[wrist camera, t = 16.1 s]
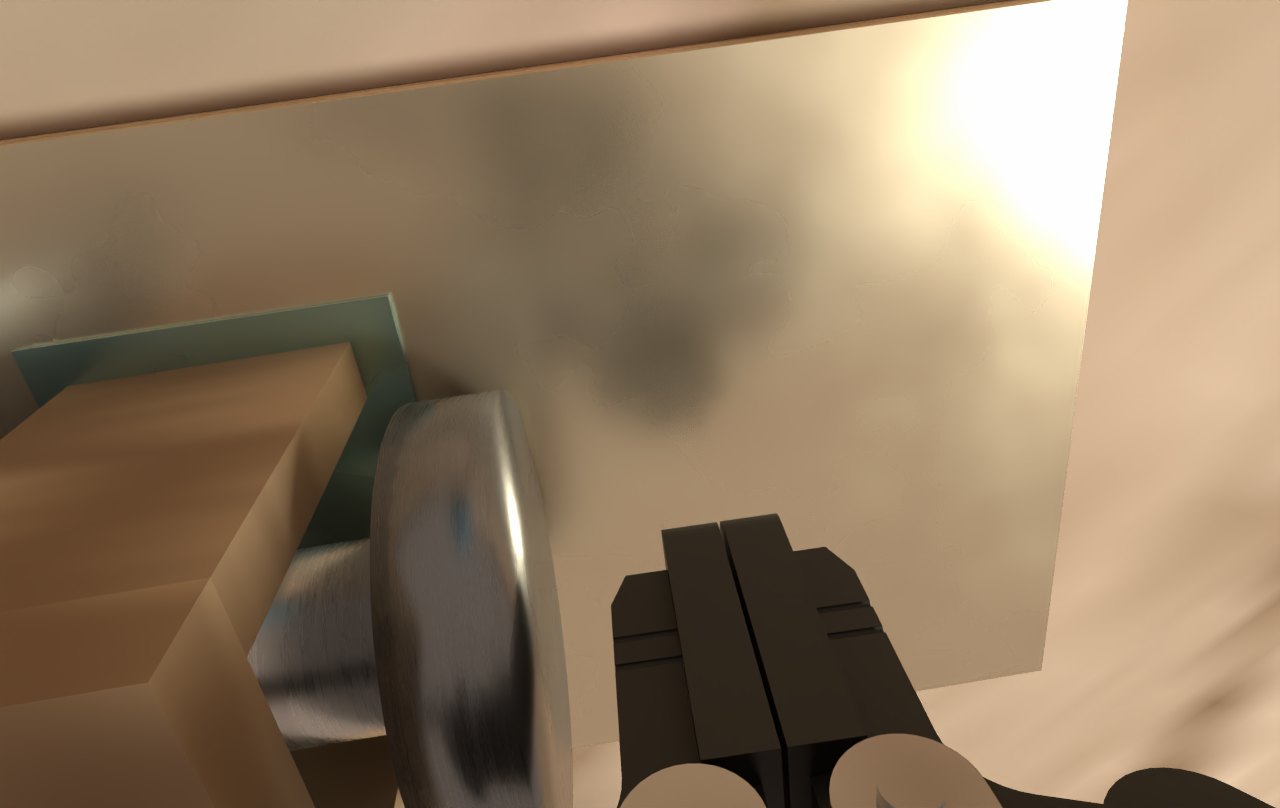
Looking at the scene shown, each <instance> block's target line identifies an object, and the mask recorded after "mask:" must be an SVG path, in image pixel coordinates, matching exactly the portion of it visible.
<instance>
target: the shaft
mask: <svg viewBox="0 0 1280 808" xmlns="http://www.w3.org/2000/svg"><path fill="white" fill-rule="evenodd" d="M247 659H248V661H249V663H250V665H251V668H252V670H253V672H254V674H255V676H256V679H257V681H258V683H259V685H260V687H261V690H262V692H263V694H264V696H265V698H266V701H267V703H268V705H269V707H270V709H271V712H272V714H273V716H274V718H275V720H276V722H277V725H278V727H279V729H280V731H281V733H282V736H283V738H284V740H285V742H286V744H287V747H288V749H289V751H293V750H299V749H305V748H311V747H317V746H323V745H329V744H335V743H341V742H347V741H353V740H359V739H365V738H371V737H377V736H383V735H387V740H388V745H389V750H390V755H391V760H392V764H393V768H394V772H395V776H396V779H397V783H398V787H399V791H400V795H401V798H402V801H403V804H404V807H405V808H573V758H572V735H571V718H570V705H569V692H568V680H567V669H566V659H565V650H564V641H563V632H562V623H561V615H560V608H559V600H558V593H557V586H556V578H555V572H554V565H553V559H552V552H551V546H550V540H549V534H548V529H547V523H546V518H545V512H544V507H543V502H542V497H541V492H540V487H539V483H538V478H537V473H536V469H535V465H534V461H533V457H532V453H531V449H530V445H529V441H528V438H527V434H526V431H525V428H524V425H523V422H522V419H521V416H520V413H519V410H518V408H517V406H516V404H515V401H514V399H513V398H512V396H511V394H510V393H509V392H508V391H507V390H505V389H500V390H493V391H487V392H480V393H474V394H467V395H461V396H454V397H447V398H441V399H434V400H428V401H421V402H414V403H408V404H405V405H403V406H401V407H399V408H398V409H397V411H396V412H395V413H394V414H393V415H392V417H391V419H390V421H389V423H388V425H387V427H386V430H385V433H384V436H383V440H382V443H381V446H380V451H379V456H378V461H377V465H376V471H375V479H374V487H373V495H372V508H371V523H370V538H366V539H359V540H353V541H347V542H340V543H334V544H327V545H321V546H315V547H308V548H302V549H297V551H296V553H295V555H294V557H293V559H292V561H291V564H290V566H289V568H288V570H287V572H286V574H285V577H284V579H283V581H282V583H281V585H280V587H279V589H278V592H277V594H276V596H275V598H274V600H273V602H272V605H271V607H270V609H269V611H268V613H267V615H266V617H265V620H264V622H263V624H262V626H261V628H260V630H259V633H258V635H257V637H256V639H255V641H254V643H253V646H252V648H251V650H250V652H249V654H248V656H247Z"/></svg>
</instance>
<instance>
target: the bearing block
mask: <svg viewBox="0 0 1280 808" xmlns="http://www.w3.org/2000/svg"><path fill="white" fill-rule="evenodd" d="M1126 8H1127V0H1010V1H1003V2H996V3H989V4H981V5H974V6H967V7H960V8H953V9H945V10H938V11H931V12H924V13H916V14H909V15H902V16H895V17H888V18H880V19H873V20H866V21H859V22H851V23H844V24H837V25H830V26H823V27H815V28H808V29H801V30H794V31H787V32H779V33H772V34H765V35H758V36H750V37H743V38H736V39H729V40H722V41H714V42H707V43H700V44H693V45H685V46H678V47H671V48H664V49H657V50H649V51H642V52H635V53H628V54H620V55H613V56H606V57H599V58H592V59H584V60H577V61H570V62H563V63H555V64H548V65H541V66H534V67H527V68H519V69H512V70H505V71H498V72H490V73H483V74H476V75H469V76H462V77H454V78H447V79H440V80H433V81H425V82H418V83H411V84H404V85H397V86H389V87H382V88H375V89H368V90H360V91H353V92H346V93H339V94H332V95H324V96H317V97H310V98H303V99H295V100H288V101H281V102H274V103H267V104H259V105H252V106H245V107H238V108H230V109H223V110H216V111H209V112H202V113H194V114H187V115H180V116H173V117H165V118H158V119H151V120H144V121H137V122H129V123H122V124H115V125H108V126H101V127H93V128H86V129H79V130H72V131H64V132H57V133H50V134H43V135H36V136H28V137H21V138H14V139H7V140H0V440H1V439H2V438H3V437H4V436H6V435H7V434H8V433H9V432H11V431H12V430H13V429H14V428H16V427H17V426H18V425H19V424H21V423H22V422H23V421H25V420H26V419H27V418H28V417H30V416H31V415H32V414H33V413H35V412H36V411H37V410H38V409H40V408H41V407H42V406H43V405H45V404H46V403H47V402H48V401H50V400H51V399H52V398H54V397H55V396H56V395H57V394H59V393H60V392H61V391H62V390H64V389H65V388H66V387H67V386H72V385H79V384H85V383H91V382H98V381H104V380H110V379H117V378H123V377H129V376H136V375H142V374H148V373H155V372H161V371H167V370H174V369H180V368H186V367H193V366H199V365H205V364H212V363H218V362H224V361H231V360H237V359H244V358H250V357H256V356H263V355H269V354H275V353H282V352H288V351H294V350H301V349H307V348H313V347H320V346H326V345H332V344H339V343H345V342H350V343H351V347H352V350H353V353H354V356H355V359H356V363H357V366H358V369H359V372H360V375H361V379H362V382H363V385H364V388H365V392H366V395H367V400H366V402H365V404H364V406H363V408H362V411H361V413H360V415H359V417H358V419H357V421H356V424H355V426H354V428H353V430H352V432H351V434H350V436H349V439H348V441H347V443H346V445H345V447H344V449H343V452H342V454H341V456H340V458H339V460H338V462H337V464H336V467H335V469H334V471H333V473H332V475H331V477H330V480H329V482H328V484H327V486H326V488H325V490H324V493H323V495H322V497H321V499H320V501H319V503H318V505H317V508H316V510H315V512H314V514H313V516H312V518H311V521H310V523H309V525H308V527H307V529H306V531H305V533H304V536H303V538H302V540H301V542H300V544H299V546H298V549H302V548H308V547H315V546H321V545H327V544H334V543H340V542H347V541H353V540H359V539H366V538H370V523H371V508H372V495H373V487H374V479H375V471H376V465H377V461H378V456H379V451H380V446H381V443H382V440H383V436H384V433H385V430H386V427H387V425H388V423H389V421H390V419H391V417H392V415H393V414H394V413H395V412H396V411H397V409H398V408H399V407H401V406H403V405H405V404H408V403H414V402H421V401H428V400H434V399H441V398H447V397H454V396H461V395H467V394H474V393H480V392H487V391H493V390H500V389H505V390H507V391H508V392H509V393H510V394H511V396H512V398H513V399H514V401H515V404H516V406H517V408H518V410H519V413H520V416H521V419H522V422H523V425H524V428H525V431H526V434H527V438H528V441H529V445H530V449H531V453H532V457H533V461H534V465H535V469H536V473H537V478H538V483H539V487H540V492H541V497H542V502H543V507H544V512H545V518H546V523H547V529H548V534H549V540H550V546H551V552H552V559H553V565H554V572H555V578H556V586H557V593H558V600H559V608H560V615H561V623H562V632H563V641H564V650H565V659H566V669H567V680H568V692H569V705H570V718H571V735H572V749H573V748H579V747H585V746H591V745H597V744H603V743H609V742H615V741H620V740H619V725H618V709H617V694H616V678H615V663H614V647H613V644H614V642H613V632H612V616H611V604H612V602H613V600H614V598H615V596H616V594H617V592H618V590H619V588H620V586H621V584H622V582H623V580H624V578H625V576H627V575H634V574H641V573H648V572H654V571H661V570H666V566H665V558H664V550H663V543H662V534H661V530H664V529H671V528H678V527H685V526H692V525H699V524H706V523H713V522H717V523H718V526H719V529H720V521H725V520H732V519H739V518H746V517H753V516H760V515H767V514H774V513H777V514H778V516H779V518H780V520H781V522H782V525H783V527H784V530H785V532H786V535H787V537H788V539H789V542H790V544H791V547H792V549H793V551H798V550H805V549H812V548H819V547H826V548H828V549H829V550H830V551H831V552H833V553H834V554H835V555H836V556H838V557H839V558H840V559H842V560H843V561H844V562H845V563H847V564H848V565H849V566H850V567H852V568H853V569H854V570H855V572H856V574H857V576H858V578H859V580H860V582H861V584H862V586H863V588H864V590H865V592H866V594H867V596H868V598H869V600H870V605H871V606H873V608H874V610H875V612H876V614H877V616H878V618H879V620H880V622H881V624H882V627H883V631H884V632H886V634H887V636H888V638H889V640H890V642H891V644H892V646H893V648H894V650H895V652H896V654H897V656H898V658H899V660H900V662H901V664H902V666H903V668H904V670H905V672H906V674H907V676H908V678H909V680H910V682H911V684H912V686H913V688H914V690H915V691H920V690H926V689H932V688H938V687H944V686H950V685H956V684H962V683H968V682H974V681H980V680H986V679H992V678H998V677H1004V676H1010V675H1016V674H1022V673H1028V672H1034V671H1040V670H1041V669H1042V661H1043V654H1044V646H1045V638H1046V630H1047V622H1048V615H1049V607H1050V599H1051V591H1052V584H1053V576H1054V568H1055V560H1056V552H1057V545H1058V537H1059V529H1060V521H1061V514H1062V506H1063V498H1064V490H1065V482H1066V475H1067V467H1068V459H1069V451H1070V444H1071V436H1072V428H1073V420H1074V412H1075V405H1076V397H1077V389H1078V381H1079V374H1080V366H1081V358H1082V350H1083V342H1084V335H1085V327H1086V319H1087V311H1088V304H1089V296H1090V288H1091V280H1092V272H1093V265H1094V257H1095V249H1096V241H1097V234H1098V226H1099V218H1100V210H1101V202H1102V195H1103V187H1104V179H1105V171H1106V164H1107V156H1108V148H1109V140H1110V132H1111V125H1112V117H1113V109H1114V101H1115V94H1116V86H1117V78H1118V70H1119V62H1120V55H1121V47H1122V39H1123V31H1124V24H1125V16H1126Z"/></svg>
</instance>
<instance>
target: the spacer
mask: <svg viewBox="0 0 1280 808" xmlns="http://www.w3.org/2000/svg"><path fill="white" fill-rule="evenodd" d="M366 400H367V395H366V392H365V388H364V385H363V382H362V379H361V375H360V372H359V369H358V366H357V363H356V359H355V356H354V353H353V350H352V347H351V343H350V342H345V343H339V344H332V345H326V346H320V347H313V348H307V349H301V350H294V351H288V352H282V353H275V354H269V355H263V356H256V357H250V358H244V359H237V360H231V361H224V362H218V363H212V364H205V365H199V366H193V367H186V368H180V369H174V370H167V371H161V372H155V373H148V374H142V375H136V376H129V377H123V378H117V379H110V380H104V381H98V382H91V383H85V384H79V385H72V386H67V387H66V388H65V389H64V390H62V391H61V392H60V393H59V394H57V395H56V396H55V397H54V398H52V399H51V400H50V401H48V402H47V403H46V404H45V405H43V406H42V407H41V408H40V409H38V410H37V411H36V412H35V413H33V414H32V415H31V416H30V417H28V418H27V419H26V420H25V421H23V422H22V423H21V424H19V425H18V426H17V427H16V428H14V429H13V430H12V431H11V432H9V433H8V434H7V435H6V436H4V437H3V438H2V439H1V440H0V808H405V807H404V804H403V801H402V798H401V795H400V791H399V787H398V783H397V779H396V776H395V772H394V768H393V764H392V760H391V755H390V750H389V745H388V740H387V735H383V736H377V737H371V738H365V739H359V740H353V741H347V742H341V743H335V744H329V745H323V746H317V747H311V748H305V749H299V750H293V751H289V749H288V747H287V744H286V742H285V740H284V738H283V736H282V733H281V731H280V729H279V727H278V725H277V722H276V720H275V718H274V716H273V714H272V712H271V709H270V707H269V705H268V703H267V701H266V698H265V696H264V694H263V692H262V690H261V687H260V685H259V683H258V681H257V679H256V676H255V674H254V672H253V670H252V668H251V665H250V663H249V661H248V659H247V656H248V654H249V652H250V650H251V648H252V646H253V643H254V641H255V639H256V637H257V635H258V633H259V630H260V628H261V626H262V624H263V622H264V620H265V617H266V615H267V613H268V611H269V609H270V607H271V605H272V602H273V600H274V598H275V596H276V594H277V592H278V589H279V587H280V585H281V583H282V581H283V579H284V577H285V574H286V572H287V570H288V568H289V566H290V564H291V561H292V559H293V557H294V555H295V553H296V551H297V549H298V546H299V544H300V542H301V540H302V538H303V536H304V533H305V531H306V529H307V527H308V525H309V523H310V521H311V518H312V516H313V514H314V512H315V510H316V508H317V505H318V503H319V501H320V499H321V497H322V495H323V493H324V490H325V488H326V486H327V484H328V482H329V480H330V477H331V475H332V473H333V471H334V469H335V467H336V464H337V462H338V460H339V458H340V456H341V454H342V452H343V449H344V447H345V445H346V443H347V441H348V439H349V436H350V434H351V432H352V430H353V428H354V426H355V424H356V421H357V419H358V417H359V415H360V413H361V411H362V408H363V406H364V404H365V402H366Z"/></svg>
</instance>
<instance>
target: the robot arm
mask: <svg viewBox="0 0 1280 808" xmlns="http://www.w3.org/2000/svg"><path fill="white" fill-rule="evenodd" d="M661 534H662V543H663V550H664V558H665V566H666V570H661V571H654V572H648V573H641V574H634V575H627V576H625V578H624V580H623V582H622V584H621V586H620V588H619V590H618V592H617V594H616V596H615V598H614V600H613V602H612V604H611V616H612V632H613V642H614V644H613V647H614V663H615V678H616V694H617V709H618V725H619V740H620V756H621V771H622V790H621V795H620V800H619V803H618V806H617V808H1275V807H1273V806H1271V805H1269V804H1267V803H1265V802H1263V801H1261V800H1259V799H1257V798H1255V797H1253V796H1251V795H1249V794H1247V793H1245V792H1242V791H1240V790H1238V789H1236V788H1234V787H1232V786H1230V785H1228V784H1226V783H1224V782H1221V781H1219V780H1217V779H1214V778H1212V777H1209V776H1206V775H1202V774H1199V773H1196V772H1191V771H1187V770H1182V769H1174V768H1148V769H1144V770H1139V771H1135V772H1133V773H1130V774H1128V775H1125V776H1124V777H1122V778H1121V779H1119V780H1118V781H1117V782H1115V784H1114V785H1113V786H1112V787H1111V788H1110V789H1109V791H1108V793H1107V795H1106V797H1105V799H1104V804H1098V803H1091V802H1084V801H1077V800H1070V799H1063V798H1056V797H1049V796H1042V795H1035V794H1030V793H1025V792H1020V791H1017V790H1014V789H1010V788H1007V787H1004V786H1001V785H999V784H997V783H995V782H992V781H990V780H988V779H986V778H984V777H983V776H982V775H981V774H980V773H979V771H978V770H977V769H976V768H975V767H974V766H973V765H972V764H971V763H970V762H969V761H968V760H967V759H966V758H964V757H963V756H962V755H960V754H959V753H958V752H956V751H954V750H953V749H951V748H949V747H947V746H946V745H944V744H943V743H942V742H941V740H940V738H939V737H938V735H937V733H936V732H935V730H934V728H933V726H932V724H931V722H930V720H929V718H928V716H927V714H926V712H925V710H924V708H923V706H922V704H921V702H920V700H919V698H918V696H917V694H916V692H915V690H914V688H913V686H912V684H911V682H910V680H909V678H908V676H907V674H906V672H905V670H904V668H903V666H902V664H901V662H900V660H899V658H898V656H897V654H896V652H895V650H894V648H893V646H892V644H891V642H890V640H889V638H888V636H887V634H886V632H884V631H883V627H882V624H881V622H880V620H879V618H878V616H877V614H876V612H875V610H874V608H873V606H871V605H870V600H869V598H868V596H867V594H866V592H865V590H864V588H863V586H862V584H861V582H860V580H859V578H858V576H857V574H856V572H855V570H854V569H853V568H852V567H850V566H849V565H848V564H847V563H845V562H844V561H843V560H842V559H840V558H839V557H838V556H836V555H835V554H834V553H833V552H831V551H830V550H829V549H828V548H826V547H819V548H812V549H805V550H798V551H793V549H792V547H791V544H790V542H789V539H788V537H787V535H786V532H785V530H784V527H783V525H782V522H781V520H780V518H779V516H778V514H777V513H774V514H767V515H760V516H753V517H746V518H739V519H732V520H725V521H720V529H719V526H718V523H717V522H713V523H706V524H699V525H692V526H685V527H678V528H671V529H664V530H661Z"/></svg>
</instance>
